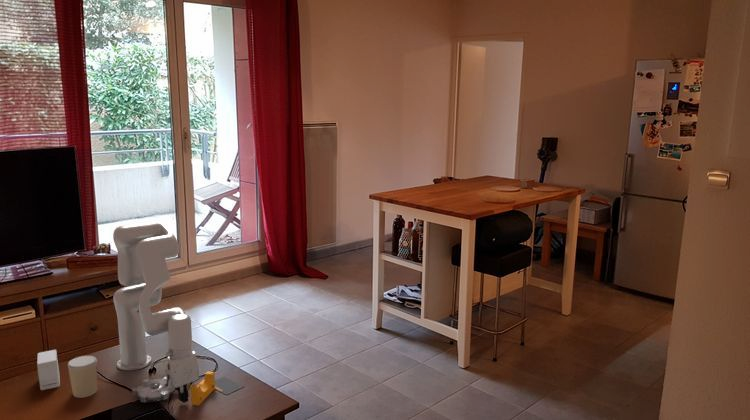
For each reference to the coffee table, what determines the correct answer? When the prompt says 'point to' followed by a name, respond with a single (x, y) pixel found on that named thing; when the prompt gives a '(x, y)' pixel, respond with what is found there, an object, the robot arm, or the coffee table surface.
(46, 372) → the skincare box
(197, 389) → the pipe clamp
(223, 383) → the mat
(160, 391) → the sprocket
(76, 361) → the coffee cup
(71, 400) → the coffee table surface
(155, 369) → the coffee table surface
